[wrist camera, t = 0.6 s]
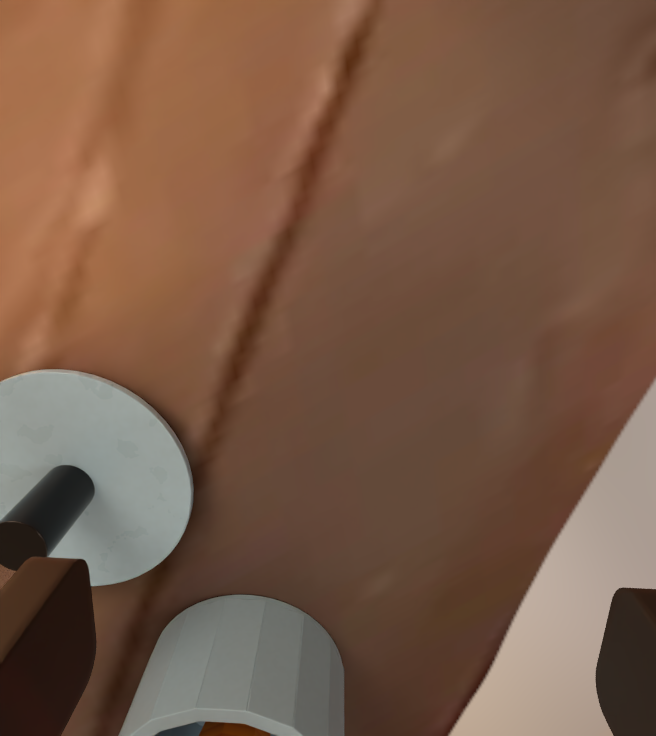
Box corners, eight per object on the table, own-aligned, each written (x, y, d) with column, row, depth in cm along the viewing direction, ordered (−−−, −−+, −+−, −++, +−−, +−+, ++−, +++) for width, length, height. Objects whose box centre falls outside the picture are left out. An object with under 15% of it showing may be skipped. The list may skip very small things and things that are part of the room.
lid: (-59, 358, 28) (-162, 406, 22) (192, 370, 28) (153, 421, 22) (-19, 567, 32) (-98, 652, 26) (200, 578, 32) (169, 667, 26)
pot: (147, 589, 32) (93, 702, 25) (348, 599, 32) (349, 716, 25) (158, 736, 36) (114, 870, 29) (338, 746, 36) (337, 883, 29)
